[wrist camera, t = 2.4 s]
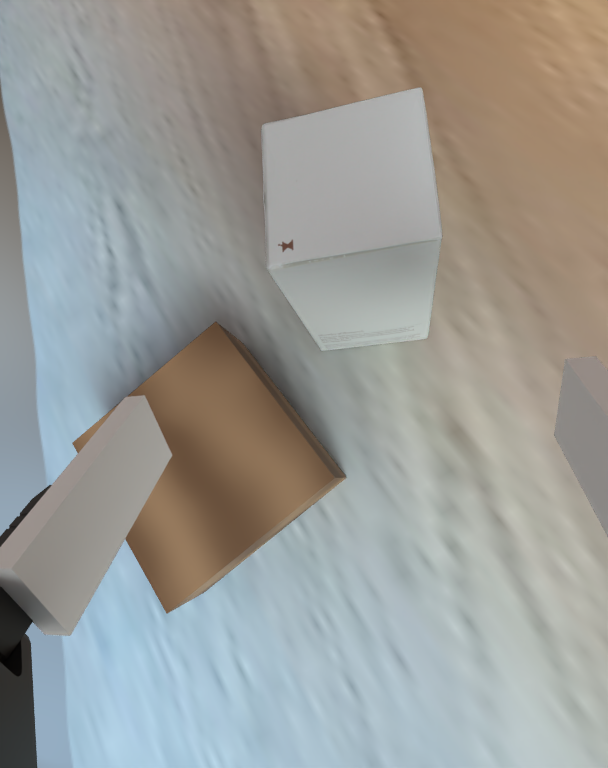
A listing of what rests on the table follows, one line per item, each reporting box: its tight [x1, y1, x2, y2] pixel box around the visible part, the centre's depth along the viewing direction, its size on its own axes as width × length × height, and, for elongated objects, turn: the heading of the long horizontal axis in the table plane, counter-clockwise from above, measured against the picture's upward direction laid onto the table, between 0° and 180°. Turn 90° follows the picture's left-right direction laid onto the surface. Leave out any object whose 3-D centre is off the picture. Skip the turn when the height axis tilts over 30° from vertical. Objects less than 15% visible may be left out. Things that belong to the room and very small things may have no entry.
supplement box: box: [261, 87, 442, 351], centre depth 24 cm, size 7×7×13 cm
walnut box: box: [73, 322, 346, 613], centre depth 28 cm, size 12×12×5 cm
